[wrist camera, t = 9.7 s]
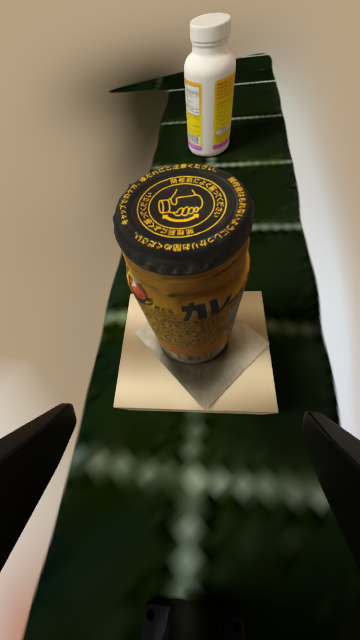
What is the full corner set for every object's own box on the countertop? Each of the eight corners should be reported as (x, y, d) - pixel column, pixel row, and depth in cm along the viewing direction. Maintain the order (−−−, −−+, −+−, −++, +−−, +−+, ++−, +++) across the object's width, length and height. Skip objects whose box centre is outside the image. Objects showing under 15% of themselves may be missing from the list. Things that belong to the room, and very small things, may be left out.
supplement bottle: (230, 135, 37) (242, 6, 26) (226, 158, 35) (238, 26, 23) (191, 136, 38) (186, 12, 27) (185, 158, 36) (176, 32, 24)
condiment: (195, 282, 21) (186, 128, 10) (269, 344, 17) (377, 217, 7) (135, 333, 19) (44, 216, 8) (204, 411, 16) (207, 388, 5)
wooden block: (264, 414, 19) (278, 412, 15) (129, 409, 20) (113, 407, 17) (252, 311, 23) (261, 291, 20) (141, 312, 24) (130, 293, 21)
